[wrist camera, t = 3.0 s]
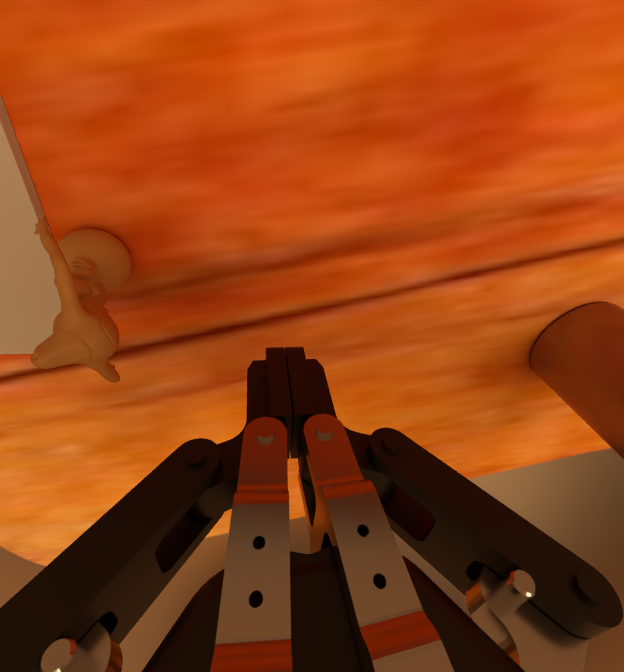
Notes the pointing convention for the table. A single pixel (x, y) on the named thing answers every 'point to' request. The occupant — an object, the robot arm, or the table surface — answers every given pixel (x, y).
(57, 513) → the table surface
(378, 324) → the table surface
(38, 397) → the table surface
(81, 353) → the figurine
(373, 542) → the robot arm
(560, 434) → the table surface
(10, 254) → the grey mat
